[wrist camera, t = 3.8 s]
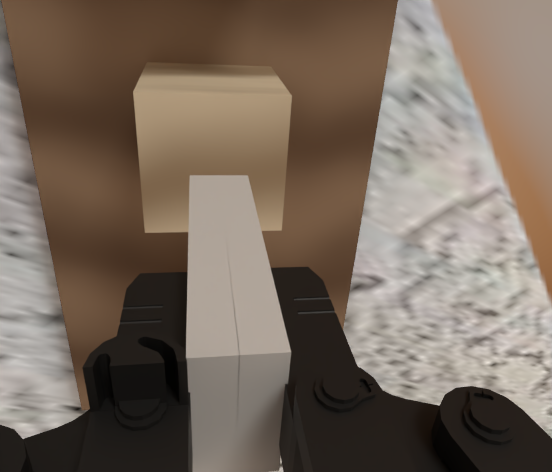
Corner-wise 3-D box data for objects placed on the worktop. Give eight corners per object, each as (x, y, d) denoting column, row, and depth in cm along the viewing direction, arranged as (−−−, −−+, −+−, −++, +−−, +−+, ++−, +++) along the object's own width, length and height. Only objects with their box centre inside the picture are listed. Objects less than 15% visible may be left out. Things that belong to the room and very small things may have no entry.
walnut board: (-75, -520, 13) (-116, -593, 11) (443, -415, 15) (474, -461, 14) (88, 384, 30) (82, 410, 28) (325, 369, 32) (332, 392, 30)
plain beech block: (147, 62, 19) (133, 91, 15) (271, 66, 20) (291, 96, 16) (154, 178, 22) (145, 232, 17) (265, 178, 22) (281, 230, 18)
